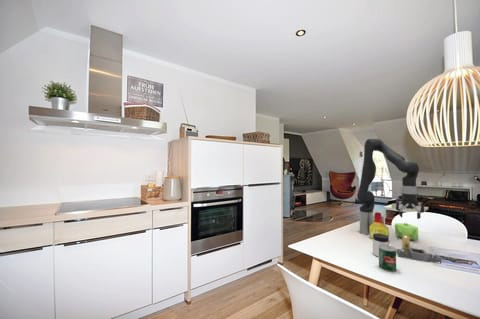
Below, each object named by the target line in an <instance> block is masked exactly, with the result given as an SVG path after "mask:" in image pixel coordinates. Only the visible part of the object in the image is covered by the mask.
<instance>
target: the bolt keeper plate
mask: <svg viewBox="0 0 480 319" xmlns="http://www.w3.org/2000/svg"><path fill="white" fill-rule="evenodd" d="M395 249H396V256H398V257H399V258H405V259H410V260H414V261H419V262H426V263H429V262H430V263H435V262H440V263H439V264H441V263H442V262H443V261H442V258H441V257H440V256H439V255H438V254H437V253H429V252H426V251H425V249H421V248H413V247H410V248H408V250H403V249H402V248H401V249H400V248H395Z"/></svg>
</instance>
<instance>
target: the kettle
mask: <svg viewBox="0 0 480 319" xmlns="http://www.w3.org/2000/svg"><path fill="white" fill-rule="evenodd" d="M392 226H394V234H395V235H396V236H397V237H398V238H402V235H408V236H410V241H415V240H419V227H418V226H415V225H412V224H409V223H408V222H407V223H406V222H404V223H398V222H397V223H394V224H392Z"/></svg>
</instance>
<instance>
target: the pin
mask: <svg viewBox="0 0 480 319" xmlns="http://www.w3.org/2000/svg"><path fill="white" fill-rule="evenodd" d="M401 240H402V241H401V243H402V244H401V245H402V247H401V249H403V250H408V248H411V239H410V236H408V235H402V239H401Z"/></svg>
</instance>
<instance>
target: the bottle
mask: <svg viewBox="0 0 480 319" xmlns="http://www.w3.org/2000/svg"><path fill="white" fill-rule="evenodd" d="M369 230H370V235H369V236H370V238H371V239H373V234H384V235H387V236H388V237H389V236H390V233H389V231H390V230H389V227H388V226H387V225H386V224H384V223H383V219H382V214H381V212H377V211H376V212H375V213H374V214H373V223H372V224H371V225H370V227H369ZM389 238H390V237H389Z"/></svg>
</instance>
